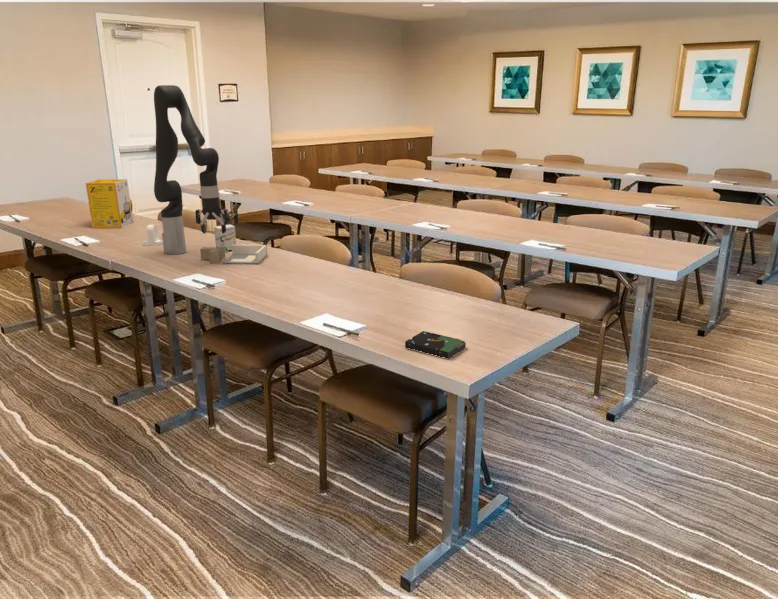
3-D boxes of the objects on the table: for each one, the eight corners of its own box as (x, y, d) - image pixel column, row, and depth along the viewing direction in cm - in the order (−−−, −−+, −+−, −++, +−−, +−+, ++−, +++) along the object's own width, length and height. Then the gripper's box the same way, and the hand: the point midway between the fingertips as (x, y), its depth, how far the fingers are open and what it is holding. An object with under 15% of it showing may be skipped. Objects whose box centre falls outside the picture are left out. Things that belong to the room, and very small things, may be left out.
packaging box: (105, 222, 362) (98, 179, 354) (133, 222, 362) (127, 179, 354) (92, 228, 347) (85, 183, 339) (121, 228, 346) (115, 183, 339)
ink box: (220, 253, 291) (218, 228, 287) (216, 251, 295) (213, 226, 291) (237, 250, 296) (235, 225, 292) (232, 248, 300) (230, 224, 296)
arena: (222, 263, 272) (221, 252, 271) (233, 255, 287) (232, 244, 285) (258, 264, 271) (257, 253, 270) (267, 255, 285) (266, 245, 284)
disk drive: (404, 350, 182) (449, 361, 174) (404, 341, 181) (449, 351, 173) (422, 339, 190) (466, 348, 182) (422, 330, 189) (466, 339, 181)
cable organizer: (147, 243, 312) (145, 223, 308) (166, 243, 311) (164, 223, 308) (142, 245, 307) (139, 225, 303) (162, 246, 306) (159, 226, 303)
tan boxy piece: (219, 263, 273) (217, 252, 272) (196, 263, 274) (195, 252, 273) (225, 258, 282) (224, 247, 280) (204, 257, 283) (202, 247, 281)
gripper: (190, 197, 264) (195, 235, 269) (223, 197, 263) (227, 234, 268) (197, 194, 271) (201, 231, 276) (229, 194, 270) (232, 231, 275)
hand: (214, 233), depth 272 cm, fingers open, 8 cm apart
